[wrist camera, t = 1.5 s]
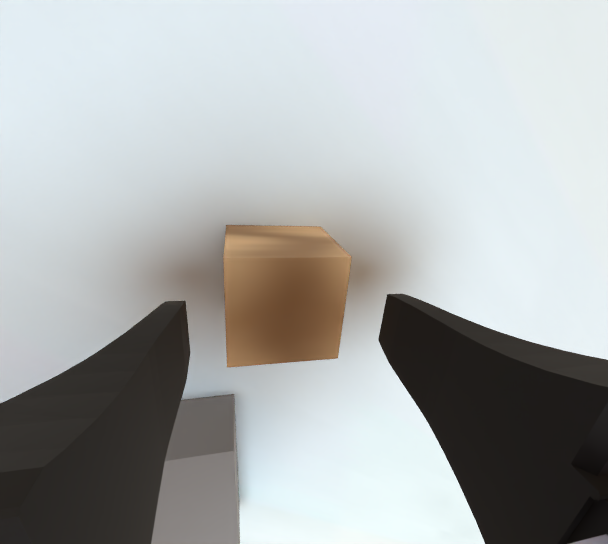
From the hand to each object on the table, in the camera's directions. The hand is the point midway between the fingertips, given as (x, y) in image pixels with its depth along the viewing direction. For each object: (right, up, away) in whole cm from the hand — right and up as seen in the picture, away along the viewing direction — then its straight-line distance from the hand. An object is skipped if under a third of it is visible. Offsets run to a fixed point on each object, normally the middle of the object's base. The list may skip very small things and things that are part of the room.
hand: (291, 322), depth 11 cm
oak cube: (-1, +2, +5) cm, 5 cm away
